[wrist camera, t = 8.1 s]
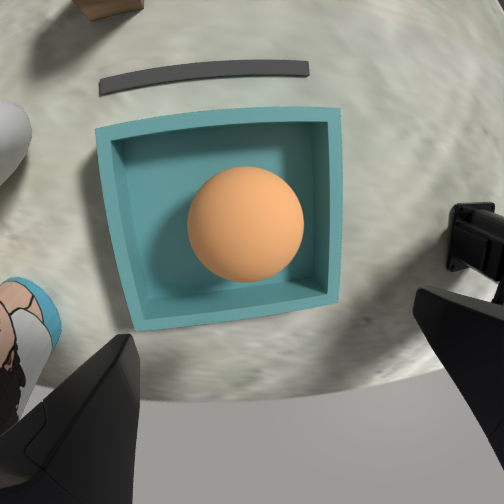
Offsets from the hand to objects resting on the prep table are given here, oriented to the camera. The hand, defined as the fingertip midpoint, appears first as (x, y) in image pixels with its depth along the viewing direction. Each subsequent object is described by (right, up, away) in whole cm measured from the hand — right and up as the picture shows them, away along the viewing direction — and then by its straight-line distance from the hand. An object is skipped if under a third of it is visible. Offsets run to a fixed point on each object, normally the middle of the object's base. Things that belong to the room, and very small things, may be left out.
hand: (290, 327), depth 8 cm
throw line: (-4, +13, +7) cm, 15 cm away
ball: (-1, +4, +7) cm, 8 cm away
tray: (-3, +5, +11) cm, 12 cm away
